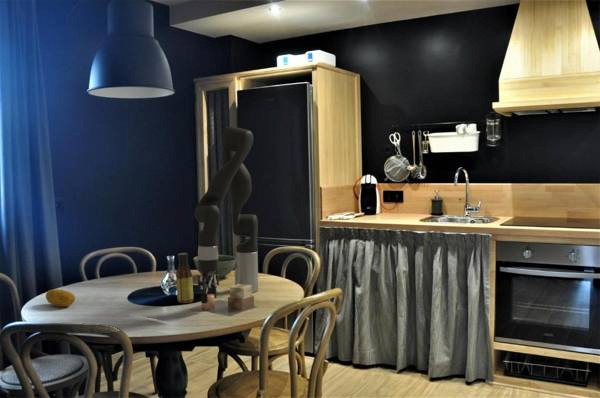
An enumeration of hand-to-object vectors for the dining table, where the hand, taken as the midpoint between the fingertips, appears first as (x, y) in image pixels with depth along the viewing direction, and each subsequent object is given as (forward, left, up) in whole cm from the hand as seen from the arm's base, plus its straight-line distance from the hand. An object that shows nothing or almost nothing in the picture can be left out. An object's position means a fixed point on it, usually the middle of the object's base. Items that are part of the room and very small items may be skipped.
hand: (209, 300), depth 215 cm
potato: (-55, -26, -4) cm, 61 cm away
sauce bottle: (-17, +4, -4) cm, 18 cm away
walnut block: (+8, +9, -3) cm, 12 cm away
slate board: (+3, +5, -4) cm, 7 cm away
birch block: (+8, +9, +1) cm, 12 cm away
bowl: (-41, +47, -4) cm, 62 cm away
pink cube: (-1, 0, -3) cm, 3 cm away
